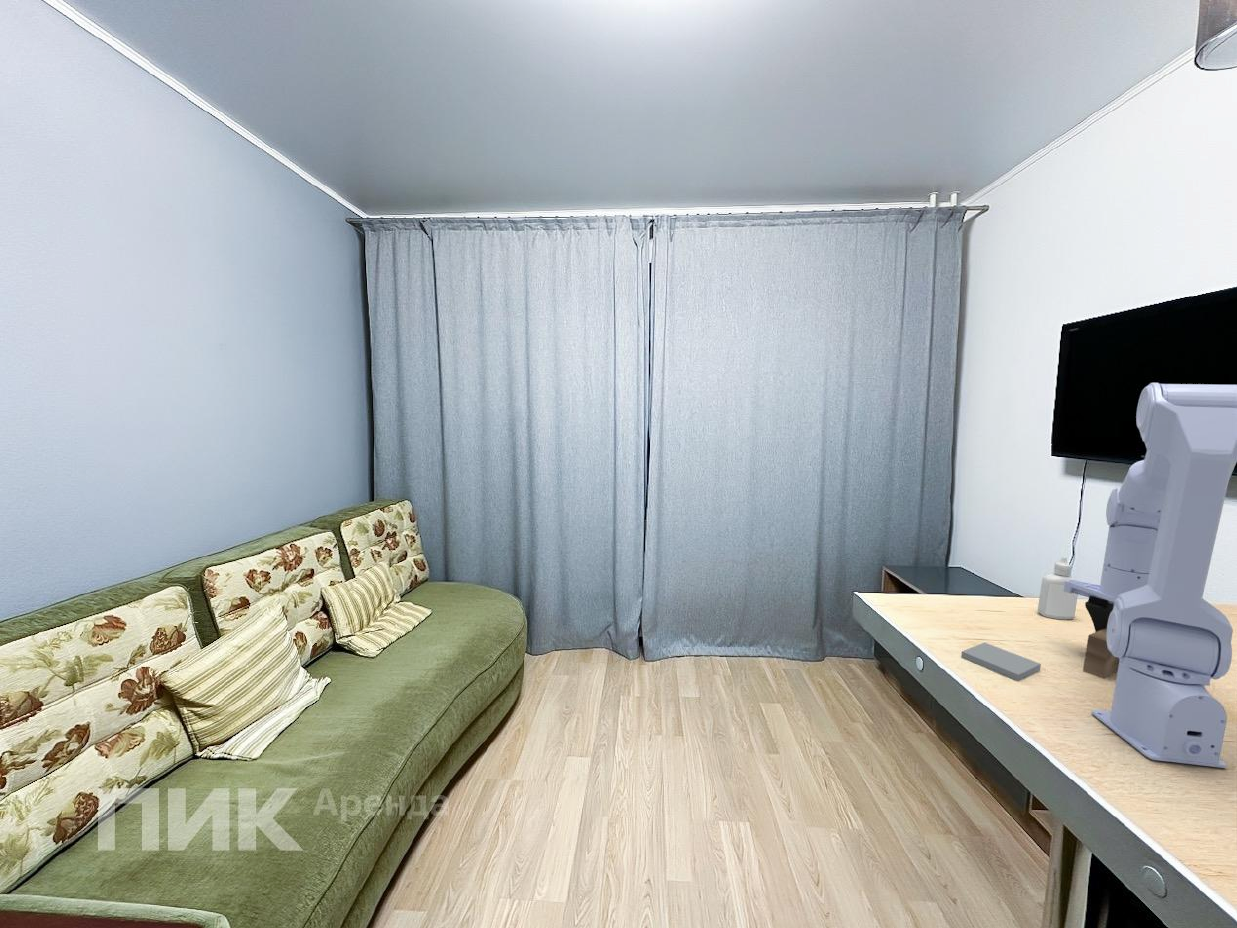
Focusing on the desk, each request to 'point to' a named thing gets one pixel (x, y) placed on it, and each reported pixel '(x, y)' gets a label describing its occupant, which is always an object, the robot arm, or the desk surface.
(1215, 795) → the desk surface
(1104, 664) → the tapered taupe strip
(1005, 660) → the tile
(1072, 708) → the desk surface
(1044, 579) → the eye dropper bottle
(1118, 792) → the desk surface
